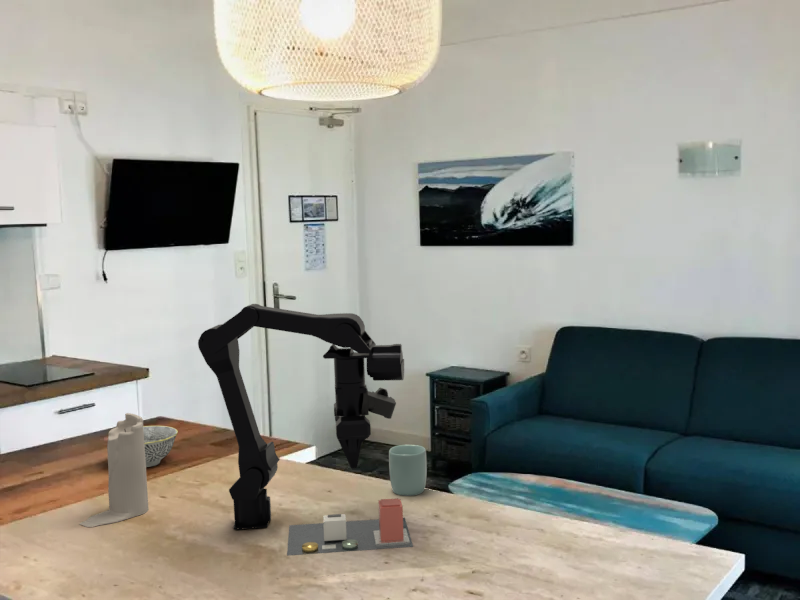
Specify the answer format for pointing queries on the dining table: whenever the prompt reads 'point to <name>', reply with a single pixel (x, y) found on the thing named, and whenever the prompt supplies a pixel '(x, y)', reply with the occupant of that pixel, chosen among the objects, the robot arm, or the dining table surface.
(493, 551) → the dining table surface
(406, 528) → the panel
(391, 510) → the cap
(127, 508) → the grey tall curved piece
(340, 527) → the block
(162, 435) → the bowl
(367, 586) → the dining table surface
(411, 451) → the cup
